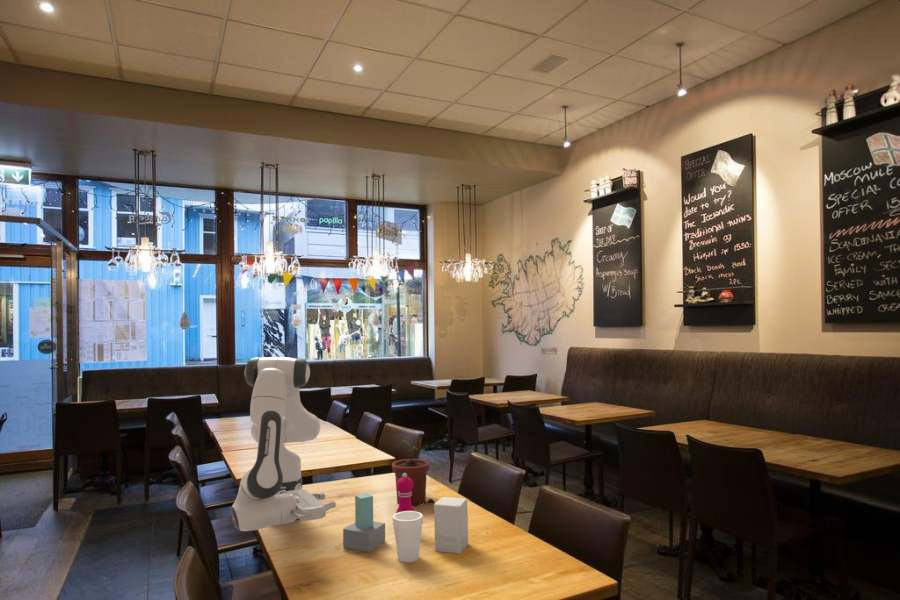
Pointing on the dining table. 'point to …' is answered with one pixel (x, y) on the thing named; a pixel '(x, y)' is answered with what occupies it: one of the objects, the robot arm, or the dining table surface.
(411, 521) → the foam cup
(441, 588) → the dining table surface
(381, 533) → the pedestal
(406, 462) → the potted plant
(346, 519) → the dining table surface
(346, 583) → the dining table surface
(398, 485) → the pepper mill
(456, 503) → the supplement box
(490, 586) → the dining table surface
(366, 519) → the block
